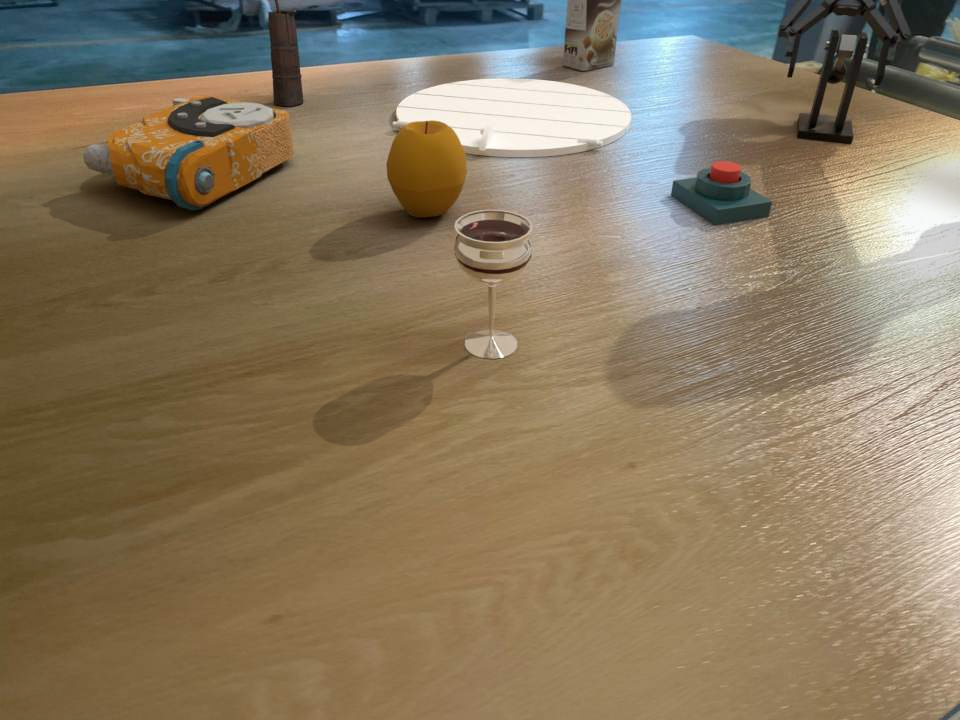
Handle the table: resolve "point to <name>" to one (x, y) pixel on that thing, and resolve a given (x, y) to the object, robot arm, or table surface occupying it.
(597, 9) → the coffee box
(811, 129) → the bracket
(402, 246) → the table surface
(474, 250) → the wineglass
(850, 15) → the robot arm
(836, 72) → the lever
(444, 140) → the apple
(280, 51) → the butter churn
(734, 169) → the button
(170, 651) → the table surface
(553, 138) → the lazy susan
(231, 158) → the device
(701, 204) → the panel
